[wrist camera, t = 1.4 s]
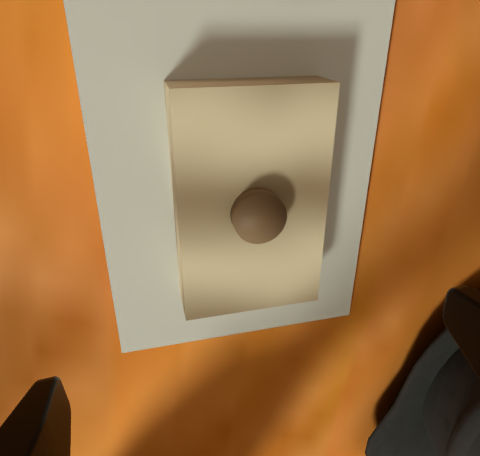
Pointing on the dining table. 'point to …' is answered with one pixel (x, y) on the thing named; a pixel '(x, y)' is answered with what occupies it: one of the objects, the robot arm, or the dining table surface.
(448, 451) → the casserole
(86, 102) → the mat
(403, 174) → the dining table surface
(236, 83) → the lid
